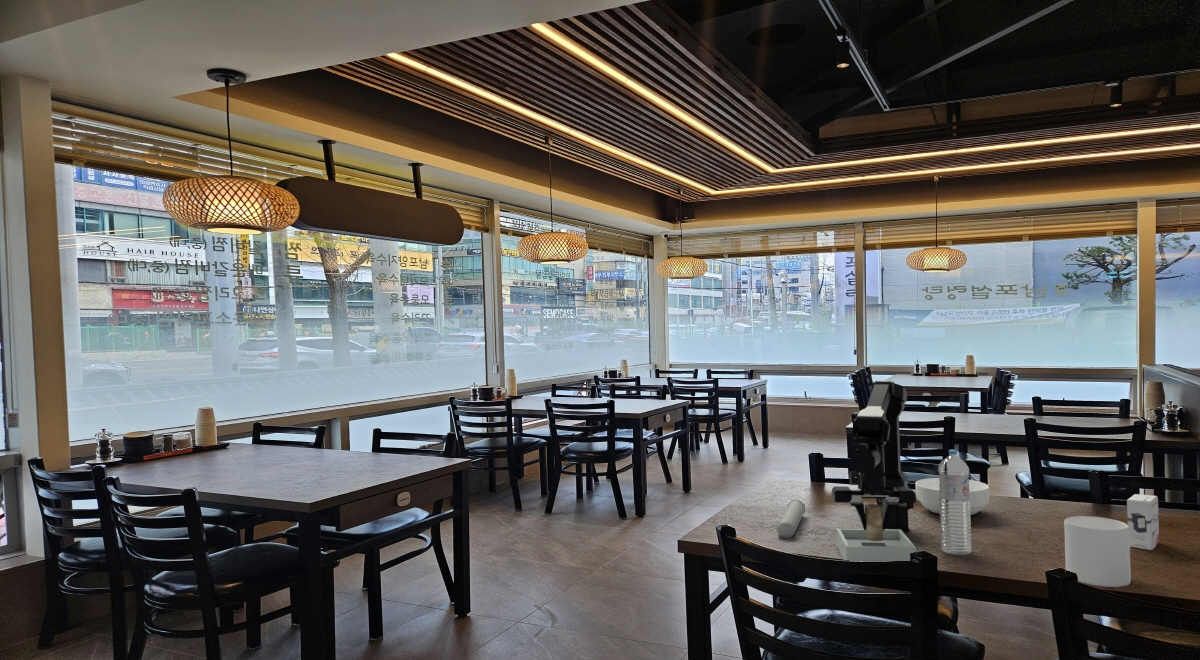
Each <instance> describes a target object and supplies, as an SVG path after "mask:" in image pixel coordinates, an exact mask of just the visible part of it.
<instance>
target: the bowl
mask: <svg viewBox="0 0 1200 660" xmlns="http://www.w3.org/2000/svg"><path fill="white" fill-rule="evenodd" d="M915 494H916V500H918V501H919V502H920V504H921V505H922V506H923V507H924V508H926V509H928V510H929V512H933V513H935V514H938V515H940V504H939V502H940V501H939V498H940V487H939V477H930V478H928V477H927V478H922V479H918V480H917V481H915ZM969 499H970V516H973V515H975V514H977V513H979V512H980V511H982V510H984V508H985V507H986V506H987V505H988V504H989V502H990V500H989V499H990V486H989V485H988V484H987V483H984V482H981V481H978V480H972V479H969Z"/></svg>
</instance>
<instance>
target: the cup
mask: <svg viewBox="0 0 1200 660" xmlns="http://www.w3.org/2000/svg"><path fill="white" fill-rule="evenodd" d="M1063 521H1064V524H1063V526H1064V527H1063V528H1064V556H1065V557H1064V559H1065V561H1064V562H1065V571H1066V570H1067V571H1070V572H1073V573H1076V574H1077V576H1078V581H1079V582H1078V581H1077V582H1078V583H1083V584H1085V585H1091V586H1095V587H1103V588H1104V587H1106V588H1119V587H1126V586H1129V585H1130V584H1131V581H1132V578H1131V575H1132V572H1131V570H1132V569H1131V547H1130V538H1129V526H1128V523H1125V522H1123V521H1121V520H1118V519H1117V520H1116V519H1112V518H1107V517H1101V516H1091V515H1089V516H1088V515H1076V516H1068V517H1066V518H1065V519H1064V520H1063Z"/></svg>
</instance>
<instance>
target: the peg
mask: <svg viewBox="0 0 1200 660" xmlns="http://www.w3.org/2000/svg"><path fill="white" fill-rule="evenodd" d="M864 511H865V519H866V530H865V531H866V539H867V540H870V541H882V540H883V518H882V506H881V505H877V503H875V504H874V503H869V504H864Z"/></svg>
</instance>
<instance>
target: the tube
mask: <svg viewBox="0 0 1200 660" xmlns="http://www.w3.org/2000/svg"><path fill="white" fill-rule="evenodd" d="M786 506H787V507H786V509H785V511H784V513H783V515H782V516H781V518H780V520H779V521H778V523H777V524H776V525H777V526H776V533H777V535H779V536H780V537H782V538H783V537H784V538H789V539H791V538H792V537H793V536H794V535H795V533H796V531H797V529H798V527H799V524H800V522H801V520H802V517H803V515H804V514H805V513H806V504H805V503H803V501H801V500H799V499H791V500H790V501H789V502H788V504H787V505H786ZM784 538H783V539H784Z"/></svg>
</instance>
